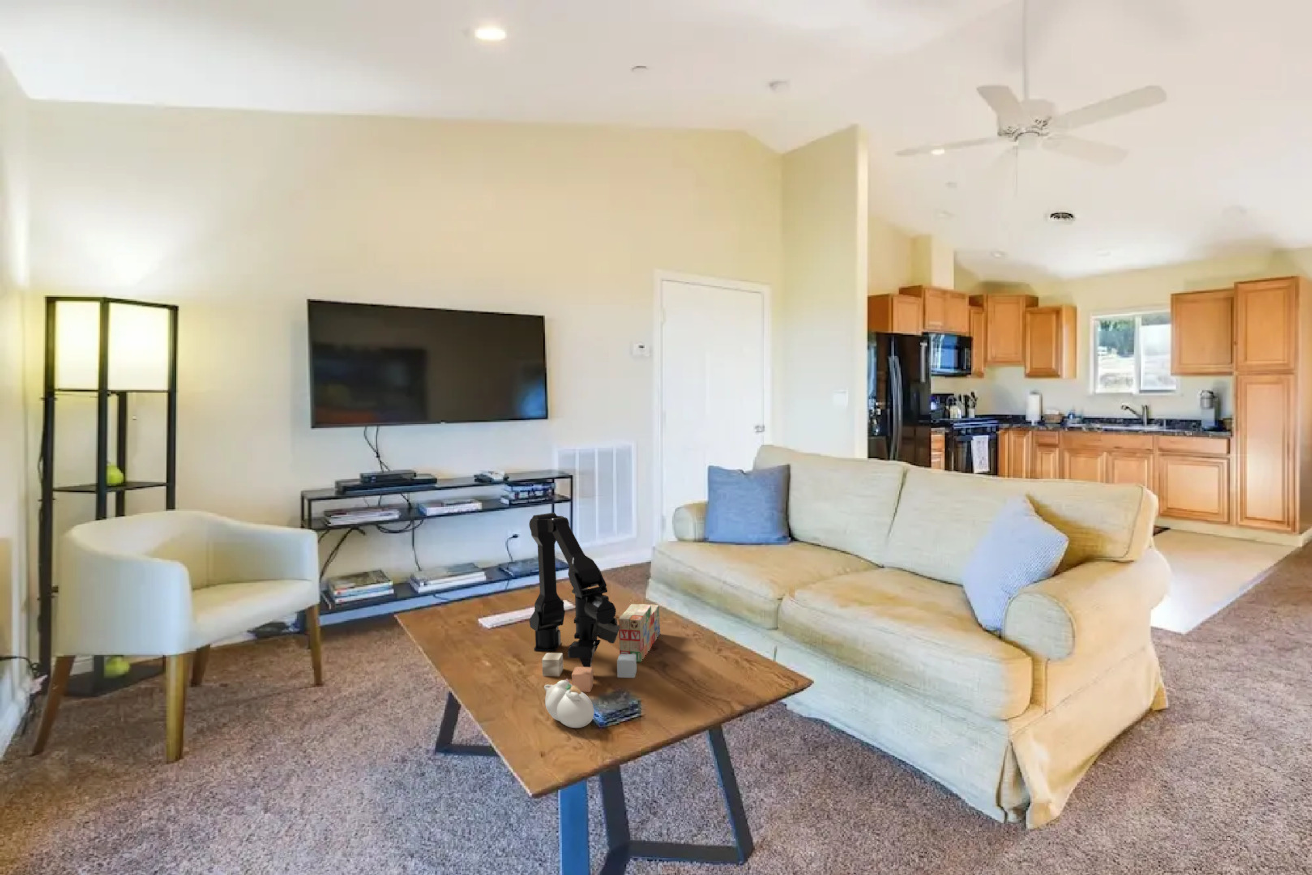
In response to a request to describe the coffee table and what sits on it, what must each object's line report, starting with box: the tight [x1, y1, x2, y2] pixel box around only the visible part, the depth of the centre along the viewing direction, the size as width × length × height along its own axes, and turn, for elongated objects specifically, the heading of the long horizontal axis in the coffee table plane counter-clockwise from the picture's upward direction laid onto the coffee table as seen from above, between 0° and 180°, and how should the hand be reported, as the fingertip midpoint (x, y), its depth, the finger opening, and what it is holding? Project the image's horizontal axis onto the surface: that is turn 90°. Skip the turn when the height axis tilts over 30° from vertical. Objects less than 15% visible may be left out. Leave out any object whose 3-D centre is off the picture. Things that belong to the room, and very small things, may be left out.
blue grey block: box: [616, 653, 638, 679], centre depth 175 cm, size 4×4×4 cm
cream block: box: [541, 652, 564, 677], centre depth 177 cm, size 4×4×4 cm
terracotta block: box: [571, 666, 594, 693], centre depth 168 cm, size 4×4×4 cm
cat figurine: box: [543, 678, 595, 729], centre depth 151 cm, size 10×8×15 cm
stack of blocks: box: [618, 603, 661, 663], centre depth 193 cm, size 21×6×12 cm, turn 165°
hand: (587, 670), depth 175 cm, fingers closed
